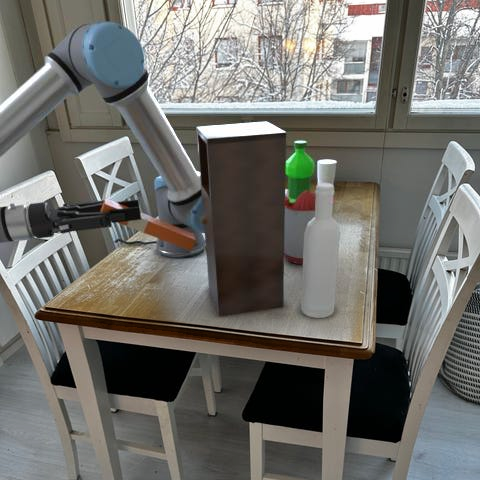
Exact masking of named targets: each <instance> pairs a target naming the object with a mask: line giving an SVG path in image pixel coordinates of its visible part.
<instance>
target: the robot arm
mask: <svg viewBox="0 0 480 480" xmlns="http://www.w3.org/2000/svg"><path fill="white" fill-rule="evenodd" d="M145 61H146V56H145V52H144V48H143V46H142V43H141V41H140V40H139V38H138V37H137V36H136V34H135V33H133V31H131V30H130V29H129V28H128V27H126V26H125V25H122V24H119V23H117V22H114V21H107V20H105V21H97V22H95V23H84V24H81V25H79V26H77V27H75V28H74V29H72V30H71V31H70V32H69V33H68V34H67V35H66V36H65V37H64V38H63V39H62V40H61V41H60V42H59V43H58V44H57V45H56V46H55V47H54V48H53V49H52V50H51V51H50V52H49V53H48V54H47V55H46V56H45V57H44V65H43V66H41V68H40V69H38V70H36V72H35V73H34V74H33V75H32V76H31V77H29V78H28V79H27V80H26V81H24V83H23V84H21V86H19V87H18V88H17V89H16V90H14V91H13V92H12V94H10V95H9V96H8V97H7V98H5V100H3V102H1V103H0V158H2V157H3V156H4V155H5V154H7V152H8V151H9V150H11V149H12V148H13V147H14V146H15V145H16V144H17V143H18V142H20V140H21V139H22V138H24V137H25V136H26V135H27V134H28V133H30V131H31V130H33V129H34V128H35V127H36V126H37V125H38V124H40V122H41V121H43V120H44V119H45V118H46V117H47V116H48V115H49V114H51V112H53V111H54V110H55V109H56V108H57V107H58V106H59V105H60V104H61V103H62V102H63V101H65V100H66V99H67V98H68V97H70V96H71V95H73V96H77V95H79V94H80V93H81V92H82V91H84V90H85V89H87V88H88V87H89V86H92V85H93V86H94V87H95V88H96V90H97V91H98V93H99V95H100V96H101V98H102V99H103V101H104V103H106V105H109V106H114V107H116V109H117V110H118V112H119V113H120V115H121V116H122V118H123V120H124V121H125V123H126V124H127V126H128V127H129V129H130V131H131V132H132V134H133V135H134V137H135V139H136V140H137V141H138V143H139V144H140V147H142V150H143V151H144V152H145V154H146V155H147V157H148V159H149V160H150V162H151V164H152V165H153V166H154V168H155V170H156V171H157V173H158V174H159V176H156V177H155V179H154V182H153V184H154V193H155V194H154V195H155V200H156V209H157V215H158V219H159V220H161V221H164V222H166V223H169V224H171V225H173V226H176V227H178V228H181V229H183V230H186V231H188V232H191V233H193V234H194V236H195V239H196V242H195V244H194V246H193V248H192V250H191V251H190V250H187V249H184V248H182V247H179V246H177V245H174V244H171V243H169V242H166V241H164V240H161V239H158V238H156V240H153V241H142V240H134V241H127V240H124V239H122V238H117V239H115V240H114V243H115V244H117V243H118V242H121V243H123V244H125V245H136V244H141V245H144V246H145V245H153V244H156V252H157V253H158V254H159V255H160V256H163V257H166V258H170V259H171V258H172V259H179V258H181V259H182V258H188V257H192V256H193V257H194V256H196V255H198V254H201V253H202V252H203V251H205V250H206V243H205V236H204V234H205V230H204V225H202V224H201V219H200V218H201V217H203V204H202V192H201V179H200V171H197V170H196V168H195V165H194V164H193V163H192V161H191V159H190V157H189V155H188V154H187V152H186V150H185V148H184V147H183V145H182V143H181V141H180V140H179V138H178V137H177V135H176V133H175V131H174V129H173V127H172V126H171V124H170V122H169V120H168V119H167V117H166V115H165V113H164V112H163V110H162V108H161V106H160V105H159V103H158V101H157V100H156V98H155V96H154V94H153V92H152V90H151V88H150V87H149V83H150V80H151V79H150V78H151V75H150V73H149V72H148V70H147V68H146V66H145ZM104 200H105V199H102V200H93V201H83V202H76V203H67V202H66V203H63V204H62V206H59V207H57V208H56V209H51V207H50V205H49V204H48V203H47V202H46V201H42V202H41V201H40V202H33V203H29V204H28V205H27V204H18V205H16V204H15V203H13V202H12V203H10V204H9V205H8V206H7V205H5V206H0V244H4V243H9V242H12V243H13V242H23V241H31V240H34V239H35V238H36V239H45V238H53V237H54V236H55V230H59V233H60V234H63V235H64V234H66V233H72V232H78V231H89V230H96V229H104V228H109V229H110V228H112V227H113V226H112V224H114V223H117V222H123V221H132V220H141V214H140V212H141V208H140V202H139V201H140V200H139V199H130V200H120V201H116V202H117V203H119V204H122V205H124V206H126V207H129V208H122V209H113V210H109V212H110V214H109V212H101V208H102V205H103V202H104Z"/></svg>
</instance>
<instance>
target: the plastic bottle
mask: <svg viewBox="0 0 480 480" xmlns="http://www.w3.org/2000/svg"><path fill="white" fill-rule="evenodd" d="M307 146H308V142H307V141H306V140H295V141H294V142H293V149H294V151H295V152H294V153H292V155H290V157H289V158H288V159H286V177H287V189H288V190H289V199H290V202H292V203H293V202H295V201H296V199H297V198H298V197H299V196H300V195H301V194H302V193H303V192H304V191H305V190H308V191H310V192H311V176H312V175H313V174H314V172H315V167H316V163H315V161H314V159H313V158H312V157H311V156H310V155H309V154H308V153H306V148H307Z"/></svg>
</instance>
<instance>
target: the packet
mask: <svg viewBox="0 0 480 480" xmlns="http://www.w3.org/2000/svg"><path fill="white" fill-rule="evenodd" d="M103 200H104V202H103V205H102V208H101V212H109V210H113V209H122V208H129V207H126V206H124V205H122V204H119V203H117V202H118V201H114V200H111V199H109V198H107V197H104V199H103ZM109 214H110V212H109ZM140 214H141V220H132V221H123V222H116V223H117V224H120V225H122V226H125V227H128V228H129V229H132V230H135V231H138V232H140V233H143V234H146V235H148V236H151V237H153V238H156V239H161V240H164V241H166V242H169V243H171V244H174V245H177V246H179V247H182V248H184V249H187V250H190V251H191V250H192V248H193V246H194V244H195V242H196V239H195V236H194V234H193V233H191V232H188V231H186V230H183V229H181V228H178V227H176V226H173V225H171V224H169V223H166V222H164V221H161V220H159V218H156V217H154V216H152V215H149V214H147V213H145V212H142V211H140Z"/></svg>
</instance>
